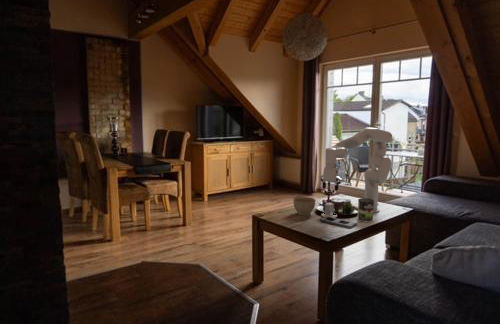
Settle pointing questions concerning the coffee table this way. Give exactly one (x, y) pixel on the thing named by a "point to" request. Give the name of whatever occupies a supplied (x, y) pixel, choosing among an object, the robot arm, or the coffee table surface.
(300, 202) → the planter bowl
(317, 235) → the coffee table surface
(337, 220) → the dark grey flat plate
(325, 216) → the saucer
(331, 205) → the light grey block
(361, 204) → the coffee can
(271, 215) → the coffee table surface
